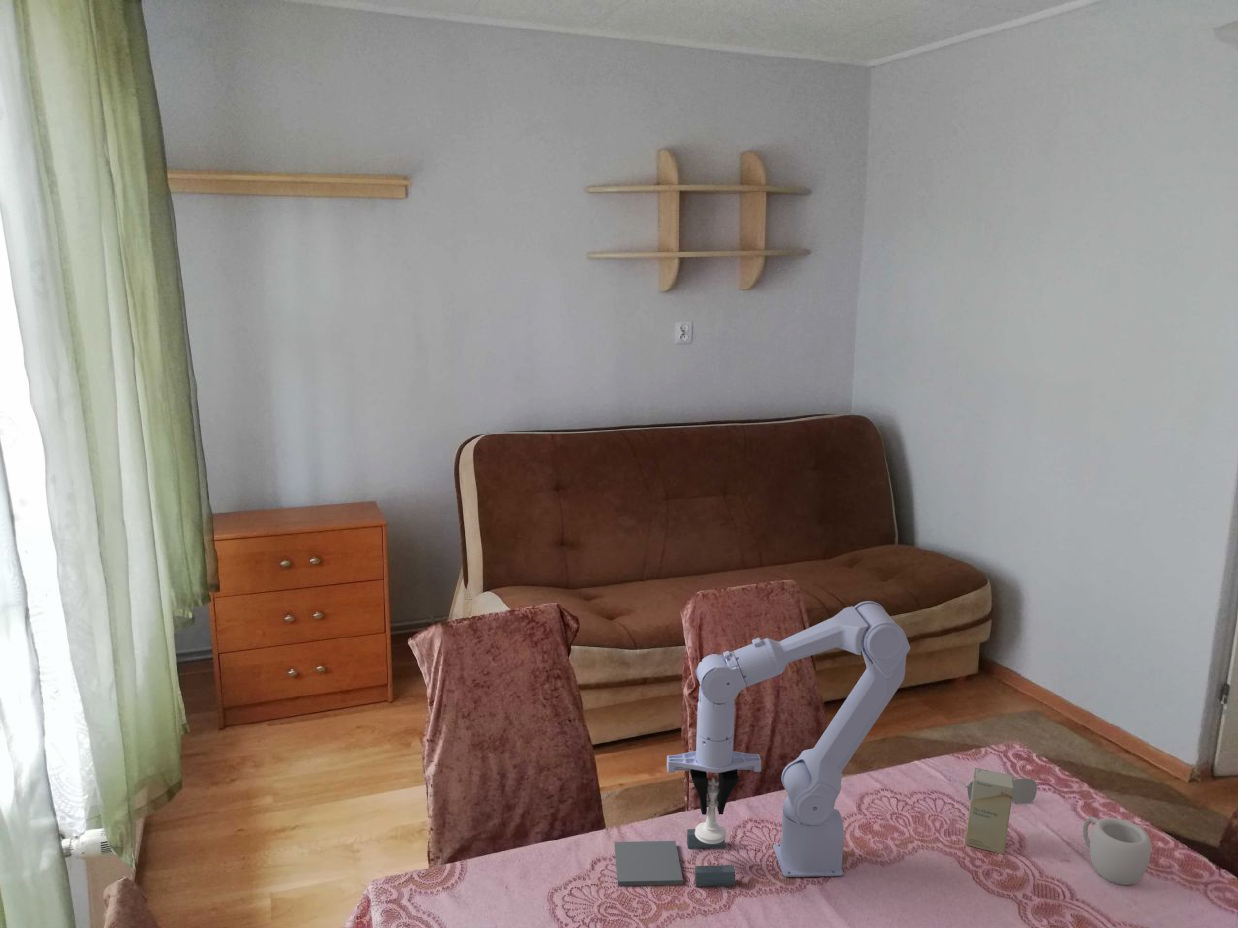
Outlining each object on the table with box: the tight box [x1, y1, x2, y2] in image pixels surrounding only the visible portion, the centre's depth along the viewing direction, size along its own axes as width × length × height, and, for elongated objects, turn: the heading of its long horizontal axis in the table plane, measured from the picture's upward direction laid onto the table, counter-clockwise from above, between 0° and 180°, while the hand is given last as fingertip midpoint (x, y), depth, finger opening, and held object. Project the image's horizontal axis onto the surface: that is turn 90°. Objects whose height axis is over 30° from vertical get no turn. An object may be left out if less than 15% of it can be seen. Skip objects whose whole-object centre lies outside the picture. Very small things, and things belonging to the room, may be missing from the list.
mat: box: [614, 840, 684, 887], centre depth 151 cm, size 10×10×1 cm
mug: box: [1082, 816, 1152, 886], centre depth 151 cm, size 12×8×8 cm
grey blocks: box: [686, 828, 736, 888], centre depth 152 cm, size 6×13×2 cm, turn 3°
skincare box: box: [965, 767, 1015, 855], centre depth 157 cm, size 6×4×12 cm
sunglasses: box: [948, 774, 1040, 805], centre depth 173 cm, size 14×8×5 cm, turn 94°
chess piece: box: [695, 777, 727, 844], centre depth 149 cm, size 5×5×10 cm
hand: (711, 810), depth 149 cm, fingers closed on chess piece
